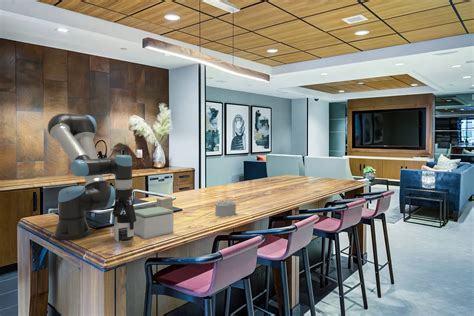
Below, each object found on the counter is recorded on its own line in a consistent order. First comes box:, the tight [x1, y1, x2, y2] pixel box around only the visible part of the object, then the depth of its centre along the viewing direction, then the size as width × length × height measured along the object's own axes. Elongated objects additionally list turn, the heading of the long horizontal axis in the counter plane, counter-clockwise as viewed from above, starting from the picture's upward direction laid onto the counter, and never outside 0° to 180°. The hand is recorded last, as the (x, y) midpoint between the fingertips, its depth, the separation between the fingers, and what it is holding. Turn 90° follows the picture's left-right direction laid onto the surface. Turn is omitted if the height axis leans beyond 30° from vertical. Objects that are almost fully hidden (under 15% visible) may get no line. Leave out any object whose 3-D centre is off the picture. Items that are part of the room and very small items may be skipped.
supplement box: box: [156, 196, 174, 211], centre depth 197 cm, size 8×5×13 cm, turn 141°
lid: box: [134, 206, 174, 217], centre depth 171 cm, size 16×14×1 cm
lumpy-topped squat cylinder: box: [214, 199, 237, 218], centre depth 213 cm, size 10×13×9 cm
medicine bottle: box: [113, 213, 135, 244], centre depth 159 cm, size 7×7×12 cm
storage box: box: [134, 212, 174, 240], centre depth 172 cm, size 16×14×10 cm
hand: (124, 233), depth 159 cm, fingers open, 13 cm apart
